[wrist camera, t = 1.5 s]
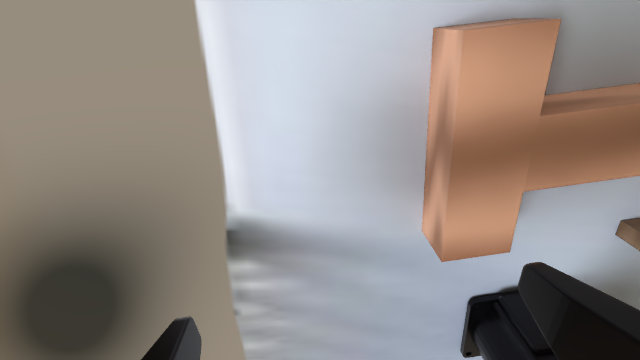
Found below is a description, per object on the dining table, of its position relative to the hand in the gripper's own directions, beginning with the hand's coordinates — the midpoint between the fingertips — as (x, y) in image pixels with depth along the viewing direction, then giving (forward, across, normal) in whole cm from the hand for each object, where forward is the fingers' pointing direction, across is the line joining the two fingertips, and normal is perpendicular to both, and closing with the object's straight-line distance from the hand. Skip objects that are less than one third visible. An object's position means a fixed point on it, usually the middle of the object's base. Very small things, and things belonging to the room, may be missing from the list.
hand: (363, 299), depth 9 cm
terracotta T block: (+10, -12, 0) cm, 16 cm away
